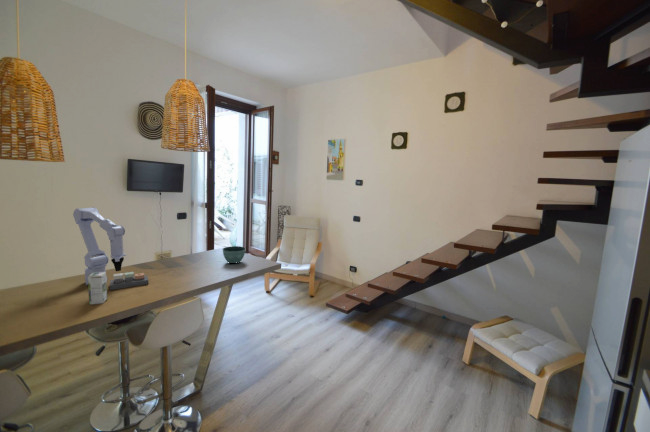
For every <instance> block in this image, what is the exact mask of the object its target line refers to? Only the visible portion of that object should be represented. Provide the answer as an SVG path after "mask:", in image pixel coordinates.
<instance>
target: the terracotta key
mask: <svg viewBox="0 0 650 432" xmlns="http://www.w3.org/2000/svg"><path fill="white" fill-rule="evenodd" d="M144 275H145V273H144V272H141V273H134V277H135V279H136V280H142V279H144Z"/></svg>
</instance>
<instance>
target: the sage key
mask: <svg viewBox="0 0 650 432" xmlns="http://www.w3.org/2000/svg"><path fill="white" fill-rule="evenodd" d="M123 277H124V278H126V282H128V281H133V277H135V273H134V271H129V272H124V273H123Z"/></svg>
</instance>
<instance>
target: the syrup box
mask: <svg viewBox="0 0 650 432" xmlns="http://www.w3.org/2000/svg"><path fill="white" fill-rule="evenodd" d="M106 278H107V271H106V272H95V273H92V274H91V275H89V276H88V285H87V287H88V288H87V289H88V304H89V305H99V304H104V303H105V302H106V300H108V287H107V286H108V285H107V282H108V281H107V282H106Z"/></svg>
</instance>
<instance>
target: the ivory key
mask: <svg viewBox="0 0 650 432" xmlns="http://www.w3.org/2000/svg"><path fill="white" fill-rule="evenodd" d="M112 278H113V280H115V283H122V282H123V278H124V273H123V272H122V273H121V272H120V273H113V277H112Z"/></svg>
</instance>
